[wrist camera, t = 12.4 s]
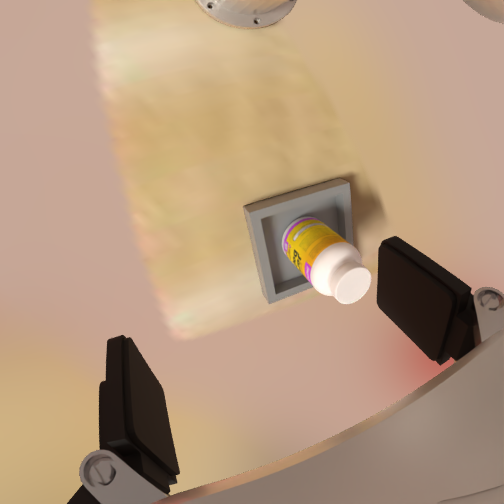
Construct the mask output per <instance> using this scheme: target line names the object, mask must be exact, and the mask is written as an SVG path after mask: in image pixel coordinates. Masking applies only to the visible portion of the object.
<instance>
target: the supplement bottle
mask: <svg viewBox="0 0 504 504" xmlns="http://www.w3.org/2000/svg"><path fill="white" fill-rule="evenodd" d="M282 248H283V251H284V253H285V255H286V256H287V257H288V258H289V259H290V261H291V262H292V263H293V264H294V265H295V266H296V267H297V268H298V270H299V271H300V272H301V273H302V274H303V275H304V276H305V277H306V279H307V280H308V281H309V282H310V283H311V284H312V285H313V287H314V288H315V289H316V290H317V291H318V292H320V293H322V294H324V295H328V296H334V297H335V298H336V299H337V300H338V301H339V302H340V303H342V304H351V303H354V302H356V301H357V300H359V299H360V298H362V297H363V296H364V294H365V293H366V292H367V290H368V288H369V286H370V283H371V274H370V272H369V270H368V269H367V268H366V267H365V266H364V265H362V259H361V255H360V253H359V251H358V250H357V249H356V248H355V247H354V246H353V245H351V244H350V243H349V242H347V241H346V240H345V239H343V238H342V237H341V236H340V235H338V234H337V233H336V232H334V231H333V230H332V229H330V228H329V227H328V226H327V225H325V224H324V223H323V222H321V221H320V220H318V219H317V218H314V217H308V216H307V217H301V218H298V219H296V220H295V221H293V222H292V223H291V224H290V225H289V226H288V227H287V229H286V230H285V232H284V234H283V238H282Z"/></svg>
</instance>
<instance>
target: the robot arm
mask: <svg viewBox="0 0 504 504" xmlns="http://www.w3.org/2000/svg"><path fill="white" fill-rule="evenodd" d="M463 1H464V2H465V3H466V4H467V5H468V6H470V7H471V8H472V9H473V10H475V11H476V12H478V13H479V14H480V15H482V16H484V17H486V18H488V19H490V20H492V21H495V22H499V23H502V24H504V0H463ZM196 2H197V4H198V5H199V6H200V8H201V9H202V10H203V11H204V12H205V13H206V14H208V15H209V16H210V17H212V18H213V19H215V20H217V21H218V22H220V23H223V24H225V25H228V26H232V27H236V28H243V29H255V28H261V27H266V26H269V25H271V24H273V23H276V22H277V21H279V20H281V19H283V18H284V17H285V16H286V15H287V14H288V13H289V12H290V11H291V10H292V8H293V7H294V5H295V3H296V0H196ZM208 6H211V7H212V8H211V9H209V8H208ZM254 21H256V22H257V24H255V23H254ZM377 304H378V306H379V308H380V309H381V310H382V311H383V312H384V313H385V314H386V315H387V316H388V317H389V318H390V319H391V320H392V321H393V322H394V323H395V324H396V325H397V326H398V327H399V328H400V329H401V330H402V331H403V332H404V333H405V334H406V335H407V336H408V337H409V338H410V339H411V340H412V341H413V342H414V343H415V344H416V345H417V346H418V347H419V348H420V349H421V350H422V351H423V352H424V353H425V354H426V355H427V356H428V357H429V358H430V359H431V360H433V361H436V362H437V363H438V364H439V365H442V364H443V363H445V362H446V361H447V360H449V358H450V357H452V358H453V359H454V364H453V365H451V366H450V367H448V368H447V369H446V370H444V371H443V372H441V373H440V374H439V375H437V376H436V377H434V378H433V379H431V380H430V381H428V382H427V383H425V384H424V385H422V386H421V387H420V388H418V389H416V390H415V391H413V392H412V393H410V394H408V395H407V396H405V397H404V398H402V399H401V400H399V401H397V402H396V403H394V404H392V405H390V406H389V407H387V408H385V409H384V410H382V411H380V412H378V413H377V414H375V415H373V416H371V417H370V418H368V419H366V420H364V421H362V422H360V423H358V424H356V425H355V426H353V427H351V428H349V429H347V430H345V431H343V432H341V433H339V434H337V435H335V436H333V437H331V438H328V439H326V440H324V441H322V442H320V443H318V444H316V445H313V446H311V447H309V448H307V449H304V450H302V451H300V452H297V453H295V454H293V455H290V456H288V457H285V458H283V459H280V460H277V461H275V462H272V463H270V464H267V465H264V466H261V467H259V468H256V469H253V470H250V471H247V472H245V473H242V474H239V475H236V476H233V477H230V478H226V479H223V480H220V481H217V482H214V483H210V484H207V485H203V486H200V487H197V488H193V489H190V490H187V491H183V492H180V493H177V494H174V495H169V494H168V493H169V492H170V487H169V485H172V484H176V483H177V479H176V475H178V474H180V471H179V466H178V462H177V457H176V453H175V448H174V444H173V438H172V434H171V428H170V424H169V418H168V413H167V407H166V401H165V396H164V391H163V388H162V386H161V384H160V383H159V381H158V380H157V378H156V377H155V375H154V374H153V372H152V371H151V369H150V368H149V366H148V364H147V363H146V361H145V360H144V358H143V357H142V355H141V353H140V352H139V350H138V348H137V347H136V345H135V344H134V342H133V340H132V339H131V338H130V337H129V338H126V337H125V336H124V335H121V336H118V337H115V338H111V339H109V340H108V341H107V355H106V356H107V357H106V381H102V382H101V383H100V387H99V442H100V450H96V451H94V452H91V453H90V454H89V455H87V456H86V457H85V458H84V460H83V461H82V463H81V466H80V471H79V475H80V479H81V482H82V483H83V485H82V486H81V487H80V488H79V490H78V491H77V492H76V493H75V494H74V496H73V497H72V498H71V499H70V500H69V502H68V503H67V504H504V294H503V293H502V292H500V291H499V290H497V289H495V288H490V287H482V288H480V289H478V290H477V291H475V294H474V295H472V294H471V288H470V287H469V286H468V285H467V284H465V283H464V282H463V281H461V280H460V279H458V278H457V277H456V276H454V275H453V274H451V273H450V272H449V271H447V270H446V269H444V268H443V267H442V266H440V265H439V264H437V263H436V262H434V261H433V260H431V259H430V258H429V257H427V256H426V255H424V254H423V253H421V252H420V251H418V250H417V249H415V248H414V247H412V246H411V245H409V244H408V243H406V242H405V241H403V240H402V239H400V238H399V237H397V236H393V237H391V238H388V239H386V240H383V241H382V243H381V246H380V247H379V250H378V285H377Z"/></svg>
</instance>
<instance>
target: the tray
mask: <svg viewBox="0 0 504 504" xmlns="http://www.w3.org/2000/svg"><path fill="white" fill-rule="evenodd" d="M243 208H244V212H245V217H246V221H247V226H248V230H249V234H250V239H251V243H252V248H253V252H254V256H255V261H256V265H257V270H258V274H259V278H260V283H261V287H262V292H263V295H264V297H265V298H266V300H267V301H268V303H269V304H271V303H273V302H276V301H278V300H281V299H284V298H286V297H289V296H292V295H294V294H297V293H299V292H302V291H304V290H307V289H309V288H312V287H313V285H312V284H311V283H310V282H309V281H308V280H307V279H306V277H305V276H304V275H303V274H302V273H301V272H300V271H299V270H298V268H297V267H296V266H295V265H294V264H293V263H292V262H291V261H290V259H289V258H288V257H287V256H286V255H285V253H284V251H283V248H282V238H283V234H284V232H285V230H286V229H287V227H288V226H289V225H290V224H291V223H292V222H293V221H295V220H296V219H298V218H301V217H307V216H308V217H314V218H317V219H318V220H320V221H321V222H323V223H324V224H325V225H327V226H328V227H329V228H330V229H332V230H333V231H334V232H336V233H337V234H338V235H340V236H341V237H342V238H343V239H345V240H346V241H347V242H349V243H350V244H351V245H353V225H352V207H351V193H350V183H349V182H347V181H345V180H343V179H341V178H337V179H334V180H330V181H327V182H323V183H320V184H316V185H312V186H309V187H306V188H302V189H299V190H295V191H292V192H288V193H285V194H282V195H278V196H275V197H272V198H268V199H265V200H262V201H259V202H255V203H252V204H249V205H246V206H243Z"/></svg>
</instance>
